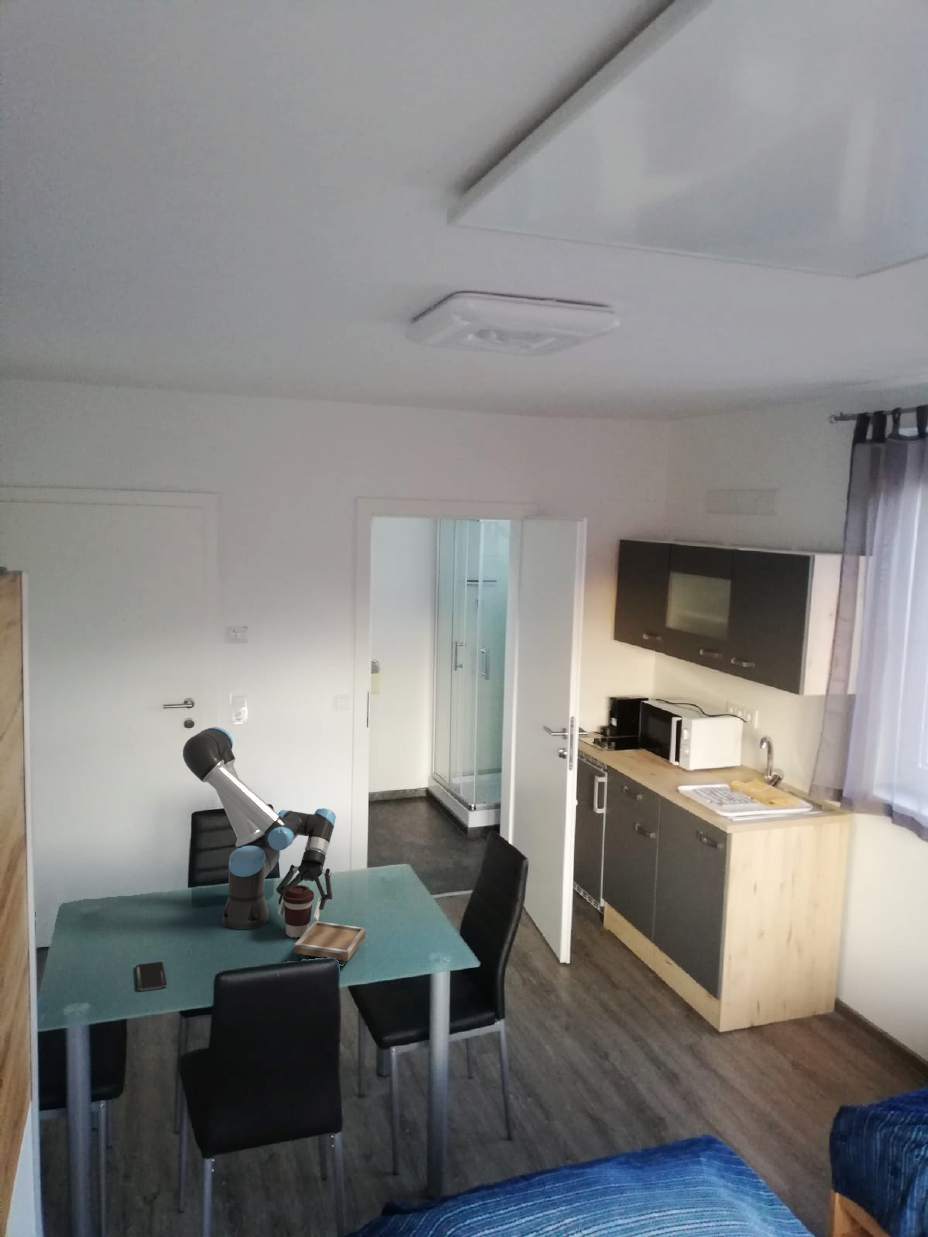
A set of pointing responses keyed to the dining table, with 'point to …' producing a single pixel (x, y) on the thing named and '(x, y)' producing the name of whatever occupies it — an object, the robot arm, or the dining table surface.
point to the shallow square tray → (330, 941)
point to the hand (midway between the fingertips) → (297, 917)
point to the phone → (150, 976)
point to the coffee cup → (297, 909)
